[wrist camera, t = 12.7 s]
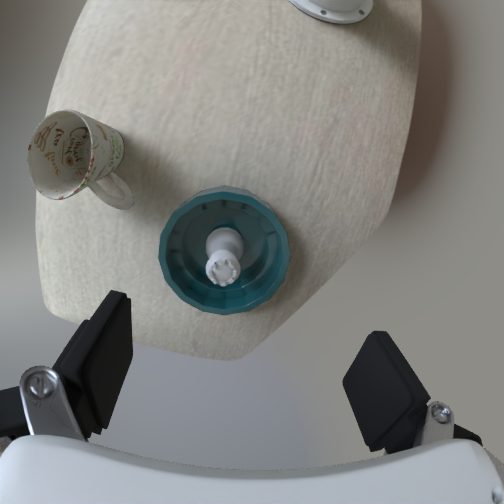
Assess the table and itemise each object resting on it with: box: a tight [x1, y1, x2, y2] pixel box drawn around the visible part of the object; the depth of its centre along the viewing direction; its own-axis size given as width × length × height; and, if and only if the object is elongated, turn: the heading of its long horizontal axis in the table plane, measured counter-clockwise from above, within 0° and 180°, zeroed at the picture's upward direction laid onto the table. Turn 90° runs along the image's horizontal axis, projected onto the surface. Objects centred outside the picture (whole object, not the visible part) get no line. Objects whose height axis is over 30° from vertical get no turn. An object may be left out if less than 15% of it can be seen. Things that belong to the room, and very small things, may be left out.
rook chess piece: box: [206, 228, 244, 286], centre depth 28 cm, size 4×4×8 cm
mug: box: [27, 109, 134, 210], centre depth 23 cm, size 8×13×10 cm, turn 43°
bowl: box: [158, 186, 290, 315], centre depth 30 cm, size 14×14×5 cm
